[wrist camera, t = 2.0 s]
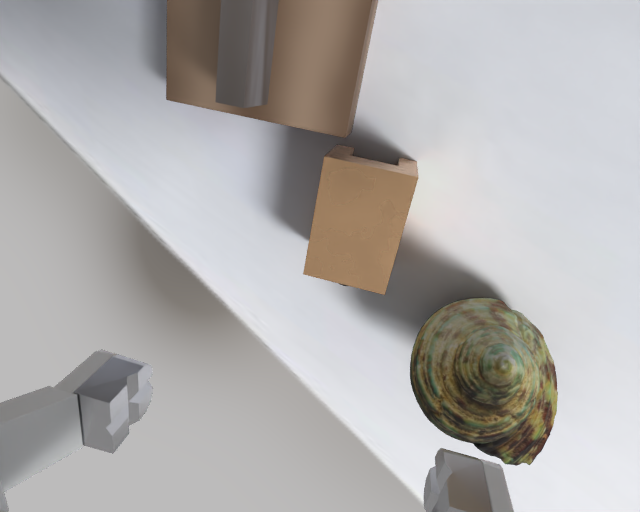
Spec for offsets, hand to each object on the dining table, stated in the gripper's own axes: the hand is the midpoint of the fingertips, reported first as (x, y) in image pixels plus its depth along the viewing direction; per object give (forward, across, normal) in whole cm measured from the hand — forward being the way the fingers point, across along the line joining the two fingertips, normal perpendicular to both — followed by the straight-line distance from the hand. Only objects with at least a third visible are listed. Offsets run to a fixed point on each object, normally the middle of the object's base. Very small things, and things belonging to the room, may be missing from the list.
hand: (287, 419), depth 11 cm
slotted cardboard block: (+21, 0, 0) cm, 21 cm away
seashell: (+21, -11, +9) cm, 25 cm away
